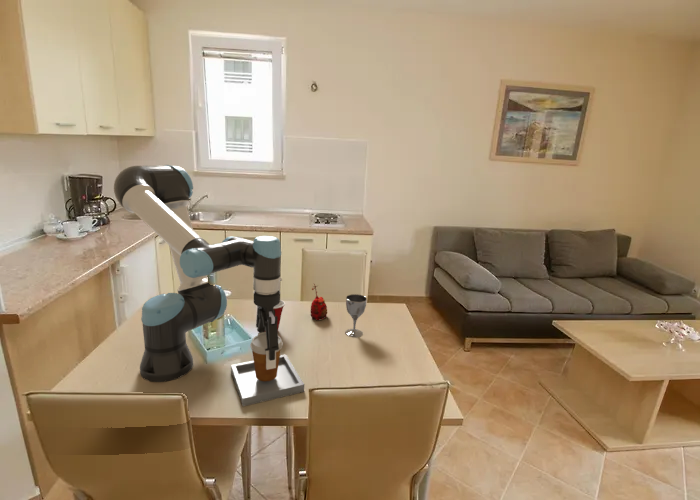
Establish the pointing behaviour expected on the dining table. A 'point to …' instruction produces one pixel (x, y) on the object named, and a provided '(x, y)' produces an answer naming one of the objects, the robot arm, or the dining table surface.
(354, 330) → the wine glass
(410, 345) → the dining table surface
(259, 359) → the disposable coffee cup
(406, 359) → the dining table surface
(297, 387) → the tray
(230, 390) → the dining table surface
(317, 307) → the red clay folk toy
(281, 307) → the plastic cup
